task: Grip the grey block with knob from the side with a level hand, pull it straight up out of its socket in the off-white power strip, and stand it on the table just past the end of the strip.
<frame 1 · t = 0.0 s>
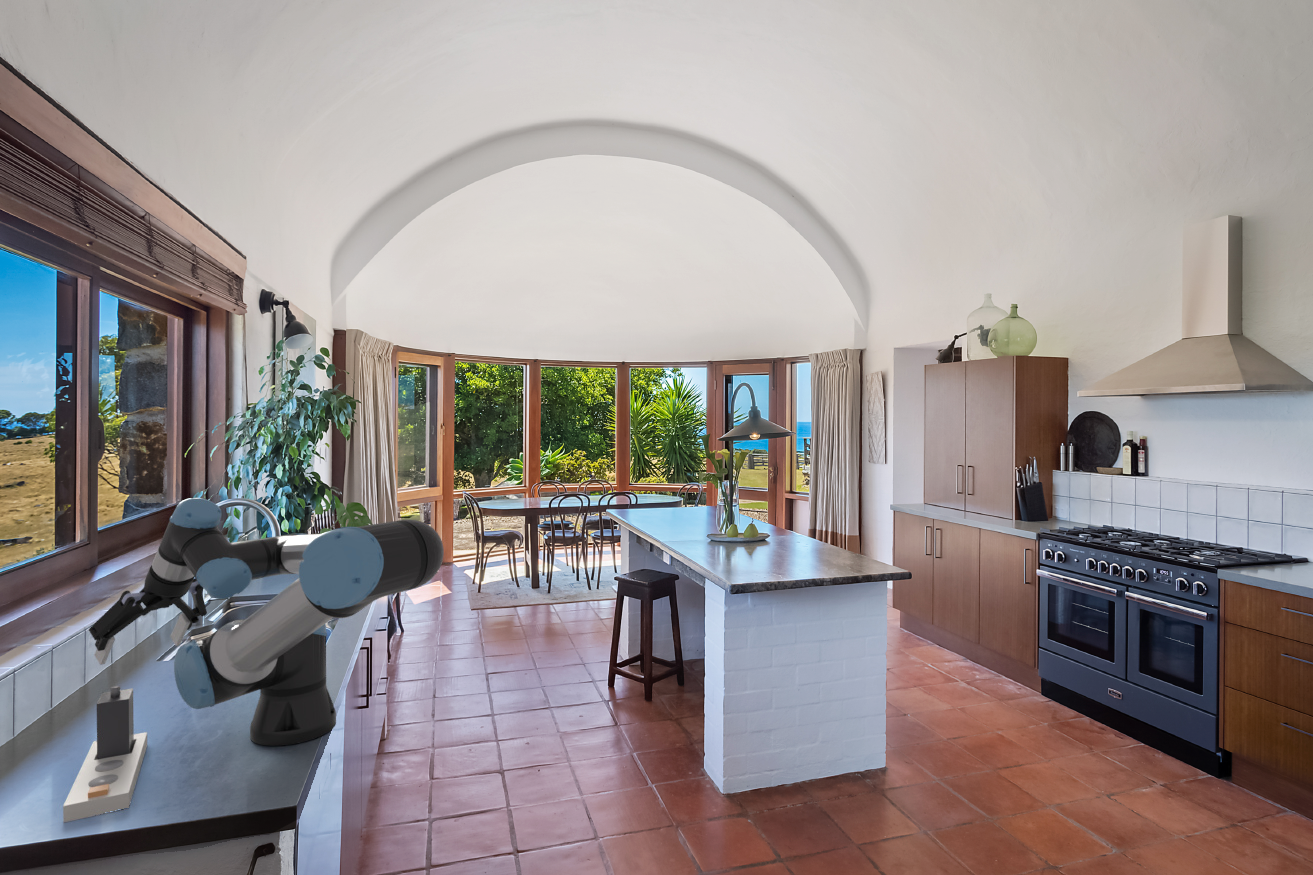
hand: (138, 649, 144), 15 cm above the counter, tool tilted 35°, fingers open, 13 cm apart
phone case 2: (256, 680, 172), on the counter
power strip: (109, 779, 122), on the counter
grey block with knob: (116, 757, 128), point 1 cm above the counter, touching power strip
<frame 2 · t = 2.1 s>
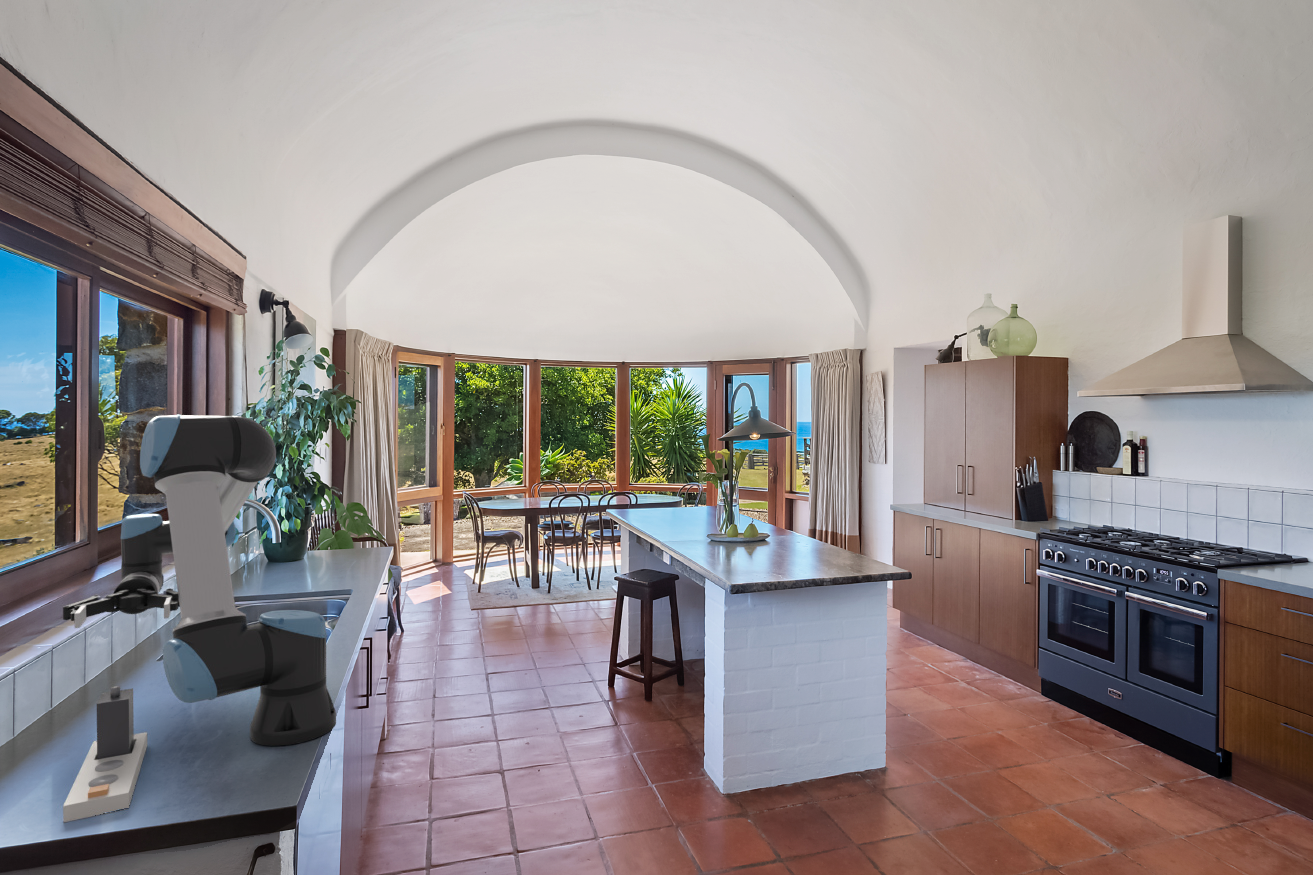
hand: (122, 615, 136), 24 cm above the counter, tool horizontal, fingers open, 13 cm apart
nothing on the counter moved.
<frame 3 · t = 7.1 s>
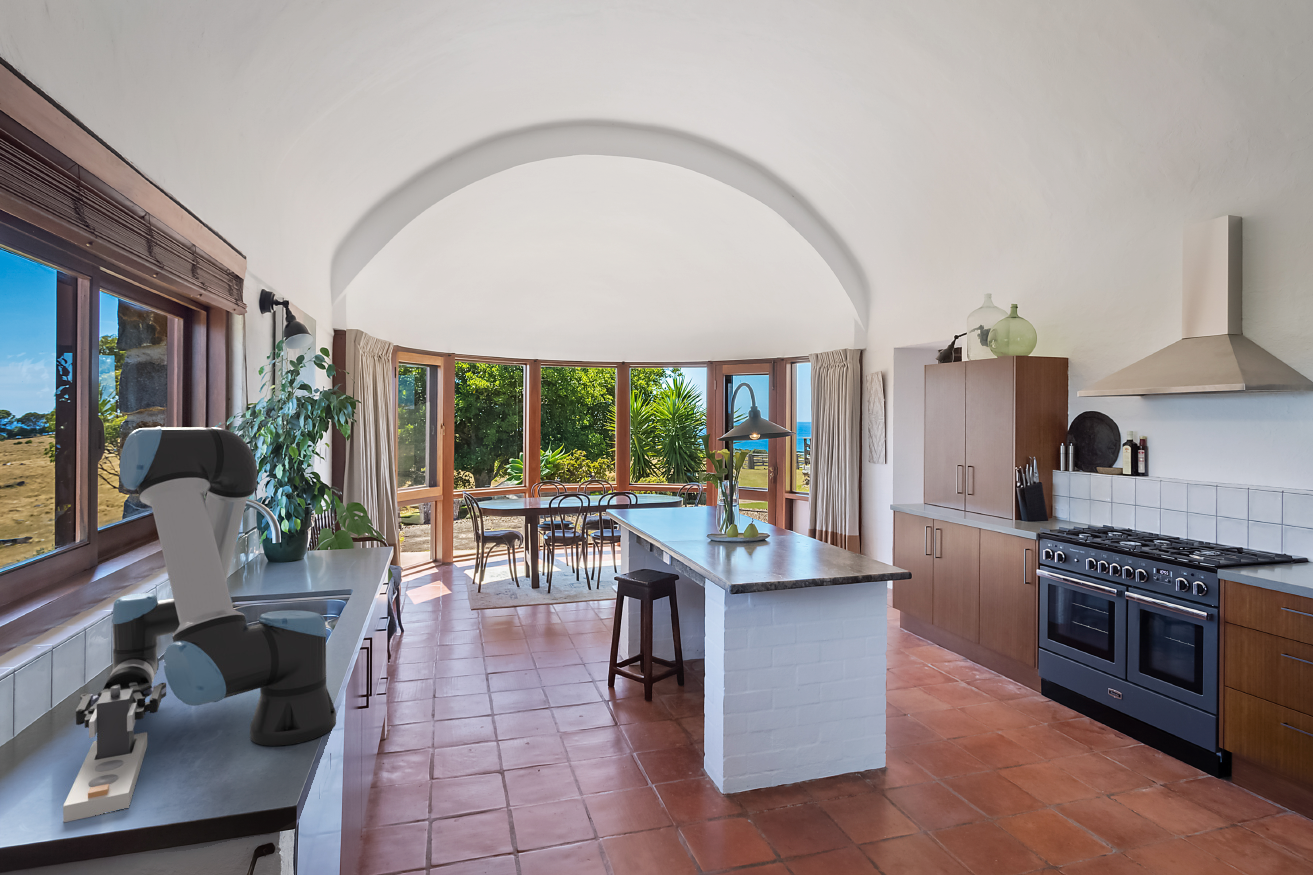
hand: (110, 725, 123), 8 cm above the counter, tool horizontal, fingers closed on grey block with knob, 4 cm apart
grey block with knob: (116, 757, 128), point 1 cm above the counter, touching gripper, power strip
everything else where it was.
when the fingers open (9 cm above the counter, at t = 11.2 s): grey block with knob drops 2 cm, on the counter.
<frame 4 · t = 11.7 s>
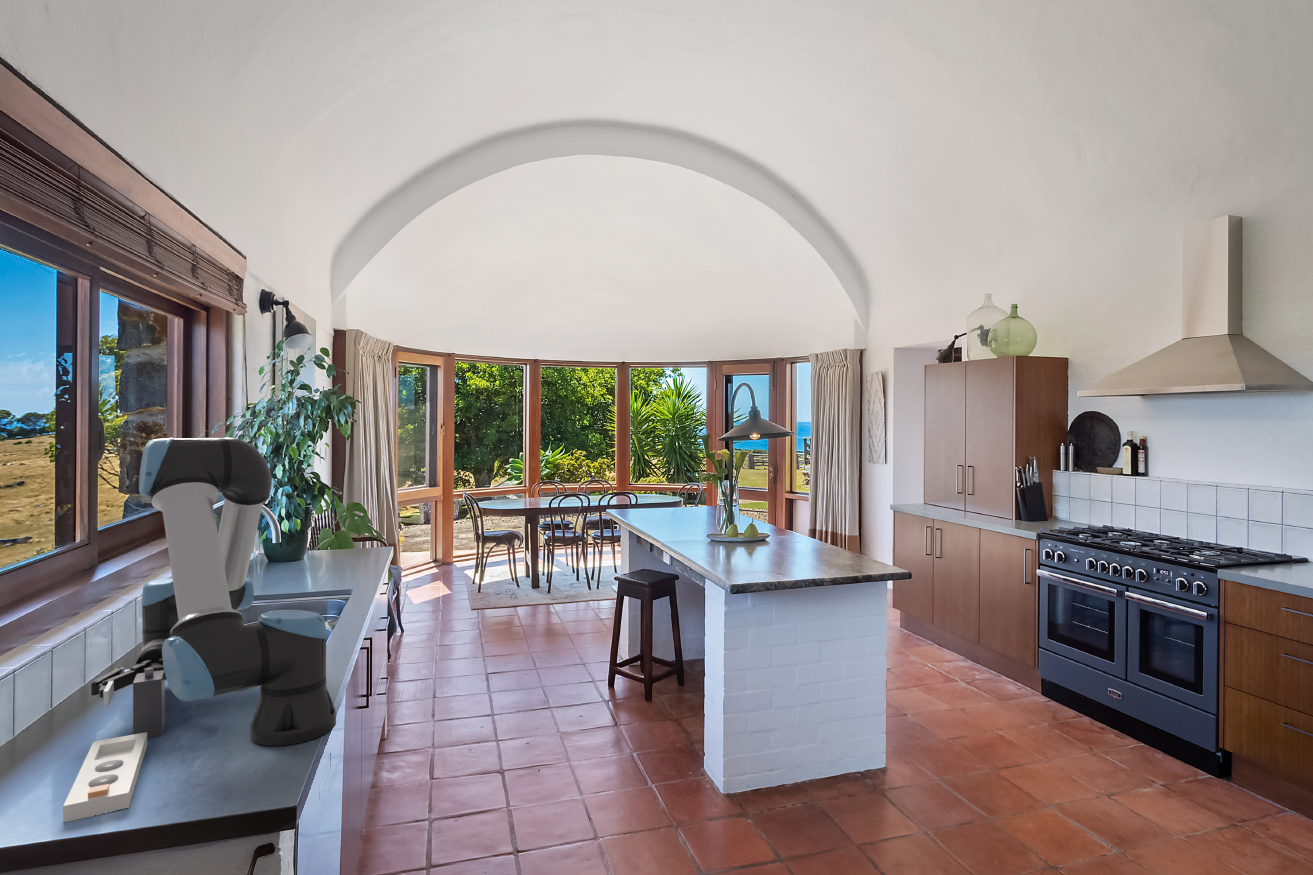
hand: (146, 692, 138), 9 cm above the counter, tool horizontal, fingers open, 12 cm apart
grey block with knob: (149, 732, 141), on the counter
everything else where it was.
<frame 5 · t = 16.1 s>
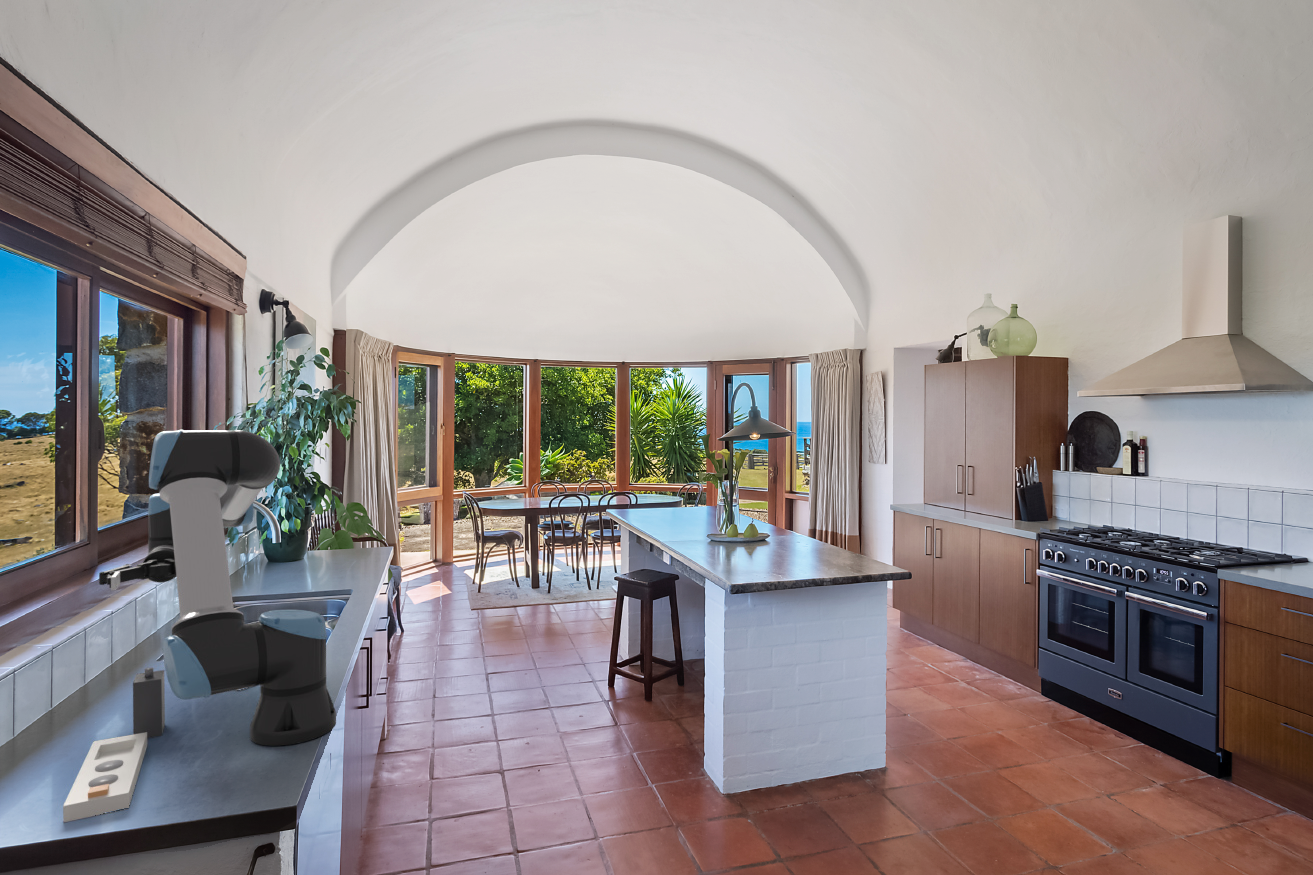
hand: (154, 580, 149), 28 cm above the counter, tool horizontal, fingers open, 13 cm apart
nothing on the counter moved.
at the end: grey block with knob inside the target area (0.5 cm from its centre), on the counter; grey block with knob tilted 0°; the gripper is holding nothing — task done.
